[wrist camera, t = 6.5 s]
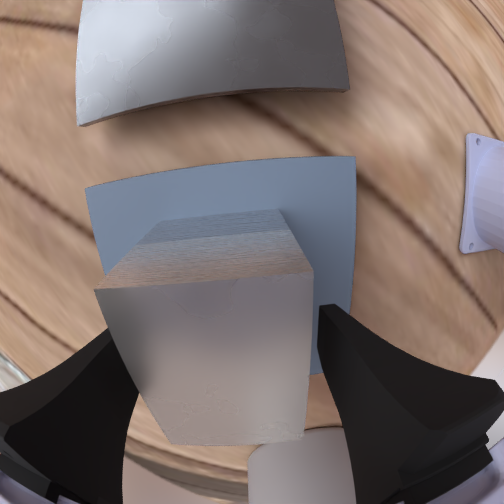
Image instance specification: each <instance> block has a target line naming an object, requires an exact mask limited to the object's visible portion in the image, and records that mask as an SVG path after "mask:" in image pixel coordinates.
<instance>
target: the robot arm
mask: <svg viewBox="0 0 504 504" xmlns="http://www.w3.org/2000/svg"><path fill="white" fill-rule="evenodd" d="M476 140H477V143H476ZM469 245H470V246H469ZM459 249H460V251H461V252H462V253H464V254H467V253H473V252H479V251H485V250H490V249H498V250H499V251H501V252H503V253H504V142H503V141H499V140H496V139H493V138H489V137H486V136H482V135H478V134H475V133H468V134H467V136H466V191H465V205H464V215H463V224H462V232H461V239H460V245H459ZM317 350H318V354H319V359H320V363H321V367H322V370H323V373H324V375H325V378H326V380H327V383H328V386H329V388H330V391H331V393H332V396H333V399H334V401H335V404H336V407H337V409H338V412H339V415H340V418H341V421H342V425H343V429H344V433H345V437H346V442H347V447H348V452H349V457H350V462H351V468H352V474H353V480H354V488H355V497H356V504H504V438H502V439H501V440H500V441H499V442H497V443H496V444H495V445H494V446H493V447H492V448H490V449H489V450H488V449H487V447H486V445H485V444H487V443H488V442H489V438H488V436H487V435H486V432H487V431H488V429H490V427H491V426H492V425H493V424H494V423H495V421H496V420H497V419H498V418H499V416H500V415H501V414H502V412H503V411H504V392H503V390H502V389H501V388H500V386H499V385H498V384H497V382H496V381H495V380H492V379H486V378H480V377H474V376H469V375H464V374H461V373H457V372H453V371H450V370H447V369H444V368H441V367H438V366H435V365H433V364H430V363H428V362H425V361H423V360H420V359H418V358H416V357H414V356H412V355H410V354H408V353H406V352H404V351H402V350H400V349H399V348H397V347H395V346H393V345H392V344H390V343H388V342H387V341H385V340H384V339H382V338H381V337H379V336H378V335H376V334H375V333H373V332H372V331H370V330H369V329H367V328H366V327H365V326H363V325H362V324H361V323H359V322H358V321H357V320H355V319H354V318H353V317H352V316H350V315H349V314H348V313H346V312H345V311H344V310H343V309H341V308H340V307H339V306H337V305H336V304H335V303H334V304H327V305H320V306H319V316H318V334H317ZM138 395H139V391H138V389H137V387H136V385H135V383H134V382H133V380H132V378H131V376H130V374H129V372H128V370H127V368H126V366H125V364H124V362H123V360H122V358H121V355H120V353H119V351H118V349H117V347H116V345H115V342H114V340H113V338H112V335H111V333H110V331H109V328H107V329H106V330H105V331H103V332H102V333H101V334H100V335H98V336H97V337H96V338H95V339H93V340H92V341H91V342H90V343H88V344H87V345H86V346H84V347H83V348H82V349H80V350H79V351H78V352H76V353H75V354H74V355H72V356H71V357H70V358H68V359H67V360H66V361H64V362H63V363H61V364H60V365H58V366H57V367H55V368H53V369H52V370H50V371H48V372H47V373H45V374H43V375H41V376H39V377H37V378H35V379H33V380H31V381H29V382H27V383H25V384H23V385H20V386H18V387H15V388H12V389H9V390H7V391H3V392H0V453H1V454H0V504H123V496H122V470H123V458H124V449H125V442H126V436H127V430H128V426H129V422H130V419H131V416H132V413H133V410H134V407H135V404H136V401H137V398H138Z"/></svg>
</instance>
